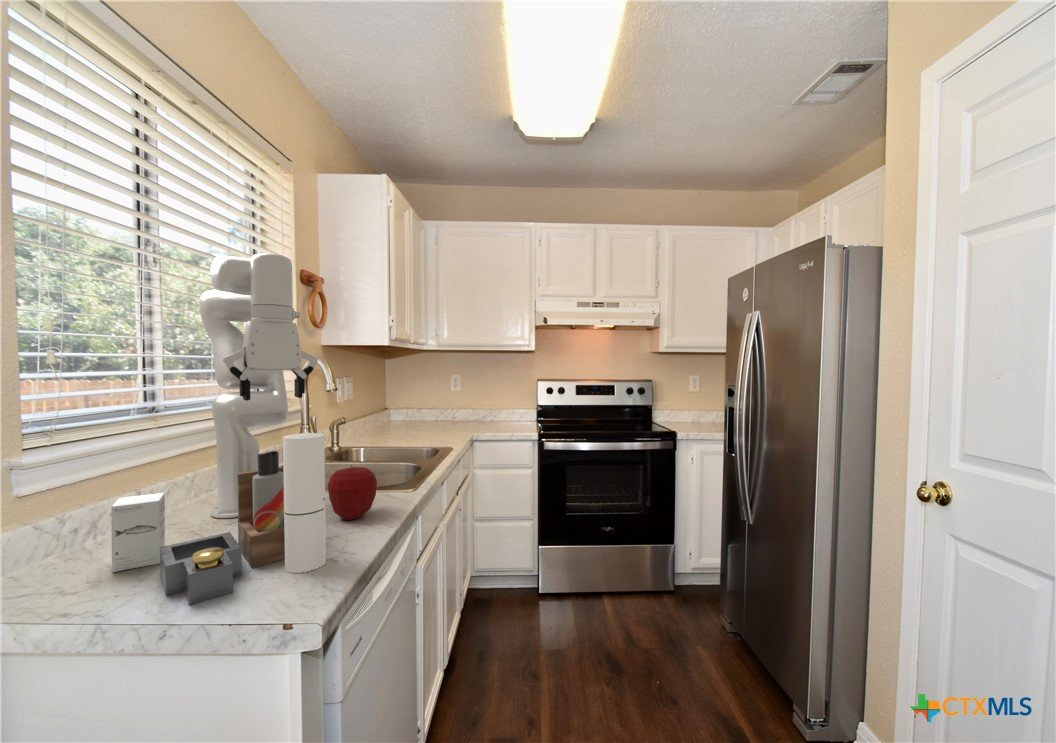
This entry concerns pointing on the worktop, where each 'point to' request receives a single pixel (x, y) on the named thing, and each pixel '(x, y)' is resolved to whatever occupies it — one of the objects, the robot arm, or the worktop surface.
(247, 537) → the rack
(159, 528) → the supplement box
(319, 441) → the cylindrical container
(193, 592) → the socket
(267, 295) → the robot arm
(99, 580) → the worktop surface
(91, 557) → the worktop surface
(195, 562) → the pin
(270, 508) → the lotion bottle
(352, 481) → the apple
